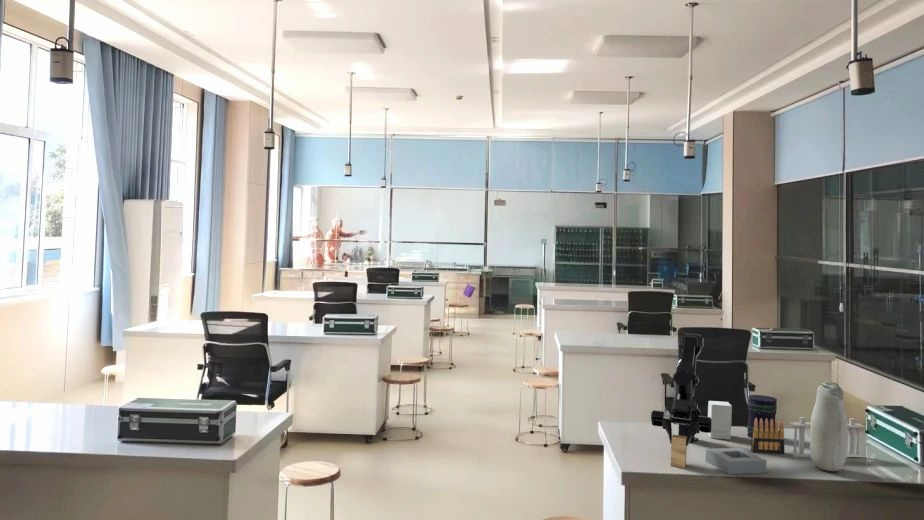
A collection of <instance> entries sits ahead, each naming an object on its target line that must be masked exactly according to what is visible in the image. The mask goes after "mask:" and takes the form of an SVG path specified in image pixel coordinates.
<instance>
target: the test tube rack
mask: <svg viewBox="0 0 924 520" xmlns="http://www.w3.org/2000/svg"><path fill="white" fill-rule="evenodd" d="M848 421H849V422H848V438H847V452H848V453H849V454H853V452H855V454H860V453H859V452H860V451H859V449H860V429H862V428H863V429H866V428H867V426H865V425H863V424H860V423H856V418H853V417H850V418H849V419H848ZM788 423H789V424H791V425H792V426H793V428H794V432H793V433H794V434H793V436H794V437H793V449H792V450H787V451H786V453H787V454H788V455H790V456H792V457H794V458H811V455H810V450H808V451H806V450H805V437H806V436H805V434H806V433H805V432H806V427H810V428H811V421H810V422H809V421H807V422H806V417H804V416H800V417H799V421H789V422H788ZM855 429H856V430H855ZM855 432H856V438H855ZM797 436H798V437H797ZM797 438H798V439H797ZM797 441H798V445H797ZM797 446H798V450H797Z"/></svg>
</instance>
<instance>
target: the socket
mask: <svg viewBox="0 0 924 520" xmlns="http://www.w3.org/2000/svg"><path fill="white" fill-rule="evenodd" d="M705 462H707V463H708V464H710V465H712V466H713V467H715V466H716V467H715V468H718V470H720V469H721V471H723V472H724V471H725V472H724V473H726V472H727V473H728V475H739V474H738V473H752V474H767V459H766V458H763V457H761V456H759V455H756V454H755V453H753V452H752V451H750V450H746V449H745V448H743V447H731V448H730V447H729V448H727V447H725V448H724V447H722V448H720V447H719V448H706V449H705ZM727 473H726V474H727ZM735 473H737V474H735Z"/></svg>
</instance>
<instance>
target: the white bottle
mask: <svg viewBox="0 0 924 520" xmlns="http://www.w3.org/2000/svg"><path fill="white" fill-rule="evenodd" d="M848 421H849V419H848V416H847V412H846V409H845V402H844V391H843V388H842V387H840V386H839V385H838V384H836V383H831V382H823V383H821V384H819V385H818V388H817V389H816V396H815V404H814V405H813V410H812V413H811V417H810V422H811V427H810V429H809V430H810V435H809V436H810V439H809V440H810V441H809V442H810V443H809V451H810V455H811V457H810V458H811V460H812V463H813V464H814V465H815V466H816V467H817V468H818V469H820V470H823V471H825V470H826V471H825V472H837V471H840V470H841V469H842V468H844V466H845V463H846V460H847V458H846V453H847V452H848V437H849V427H848V423H849V422H848Z"/></svg>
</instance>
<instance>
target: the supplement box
mask: <svg viewBox="0 0 924 520" xmlns="http://www.w3.org/2000/svg"><path fill="white" fill-rule="evenodd" d="M707 403H708V405H707V417H710V418H711V419H712V427H711V433H707V435H708V436H709V438H710V439H718V440H719V439H720V440H727V441H728V440H731V438H732V437H731V435H732V415H733V414H732V413H733V406H732V404H731V403H730V402H729V401H719V400H708V402H707Z"/></svg>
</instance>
